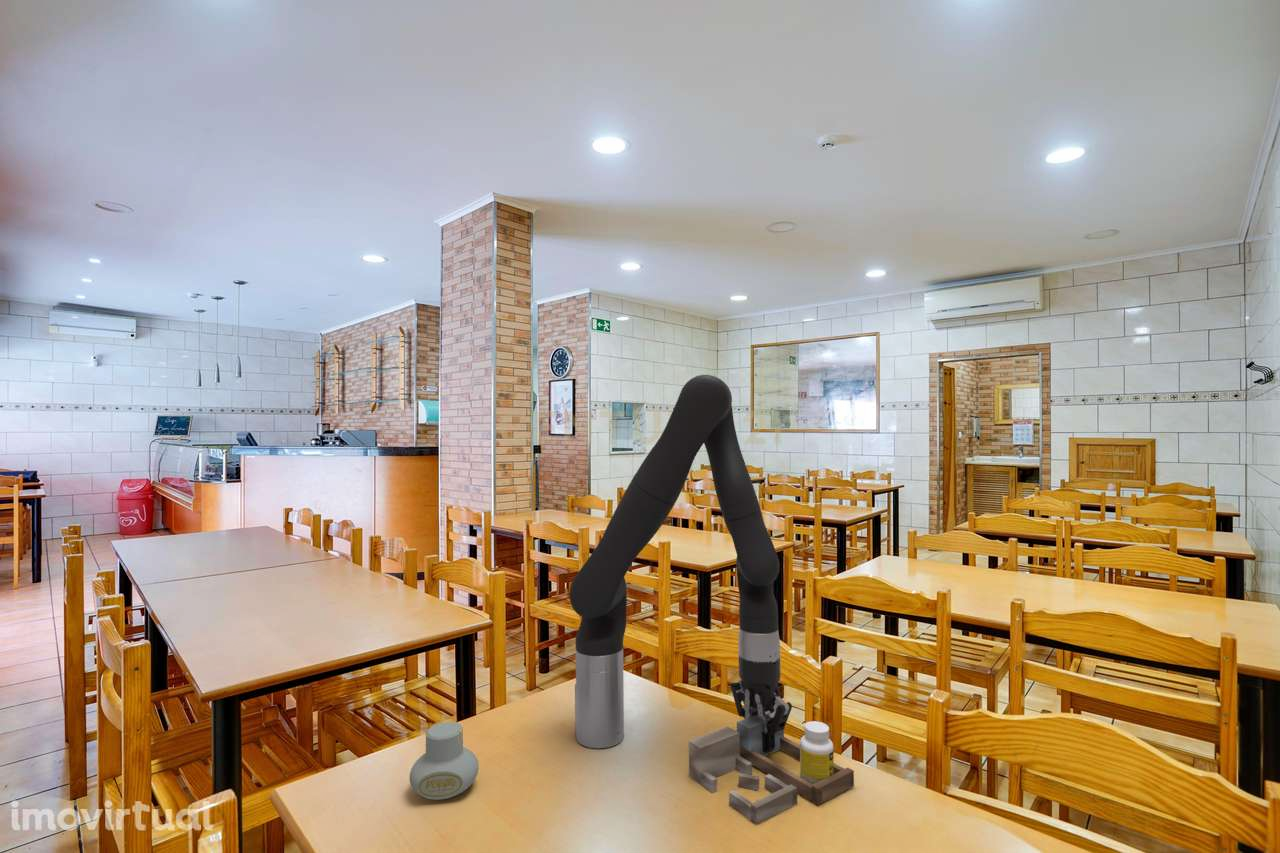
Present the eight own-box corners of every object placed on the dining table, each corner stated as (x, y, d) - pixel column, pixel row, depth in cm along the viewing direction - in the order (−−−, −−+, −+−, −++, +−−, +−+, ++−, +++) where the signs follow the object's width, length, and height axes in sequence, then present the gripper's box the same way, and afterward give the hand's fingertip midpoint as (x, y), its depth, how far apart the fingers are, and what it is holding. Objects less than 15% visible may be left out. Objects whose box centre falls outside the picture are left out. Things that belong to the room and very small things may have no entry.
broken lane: (689, 776, 105) (688, 740, 105) (728, 759, 110) (727, 726, 110) (756, 824, 92) (756, 784, 92) (797, 803, 97) (796, 765, 97)
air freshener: (404, 807, 97) (404, 744, 97) (415, 778, 105) (415, 720, 106) (475, 801, 99) (475, 738, 99) (481, 773, 107) (480, 715, 107)
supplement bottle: (835, 797, 99) (835, 735, 99) (801, 793, 100) (800, 732, 100) (832, 778, 104) (831, 720, 104) (799, 775, 105) (798, 717, 105)
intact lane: (737, 755, 111) (736, 722, 111) (772, 740, 116) (771, 709, 117) (817, 804, 96) (817, 766, 96) (853, 785, 101) (853, 749, 102)
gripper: (718, 646, 117) (719, 738, 116) (773, 669, 105) (775, 770, 105) (746, 638, 121) (748, 726, 121) (802, 659, 109) (804, 757, 109)
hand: (760, 746), depth 113 cm, fingers closed on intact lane, 3 cm apart
